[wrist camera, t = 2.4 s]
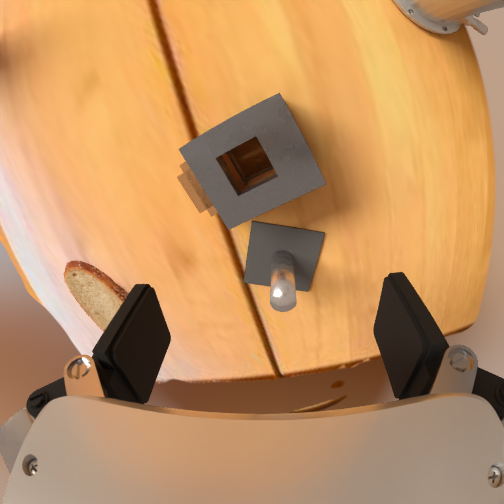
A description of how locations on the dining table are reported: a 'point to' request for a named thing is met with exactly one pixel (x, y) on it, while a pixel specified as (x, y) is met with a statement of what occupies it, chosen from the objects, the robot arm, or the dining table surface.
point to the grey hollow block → (231, 175)
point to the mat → (282, 238)
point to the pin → (282, 282)
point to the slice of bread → (94, 292)
